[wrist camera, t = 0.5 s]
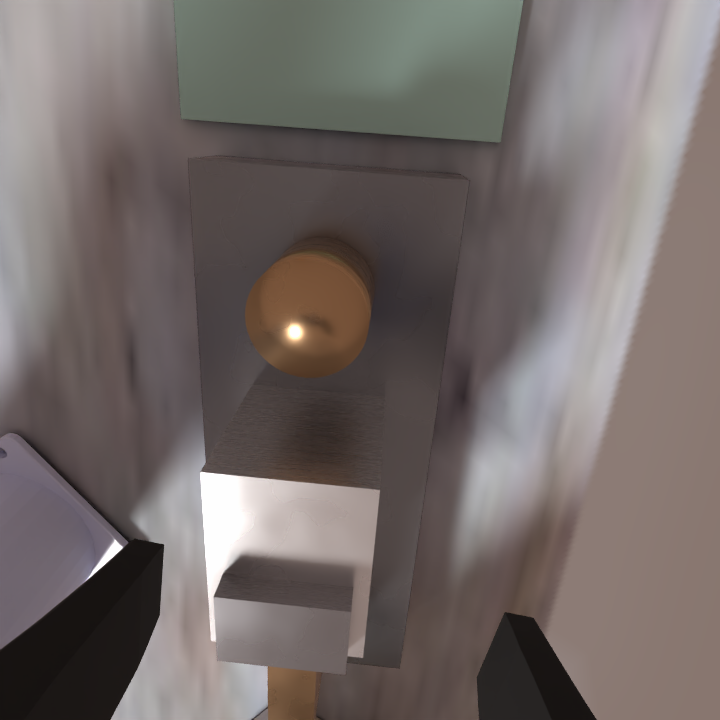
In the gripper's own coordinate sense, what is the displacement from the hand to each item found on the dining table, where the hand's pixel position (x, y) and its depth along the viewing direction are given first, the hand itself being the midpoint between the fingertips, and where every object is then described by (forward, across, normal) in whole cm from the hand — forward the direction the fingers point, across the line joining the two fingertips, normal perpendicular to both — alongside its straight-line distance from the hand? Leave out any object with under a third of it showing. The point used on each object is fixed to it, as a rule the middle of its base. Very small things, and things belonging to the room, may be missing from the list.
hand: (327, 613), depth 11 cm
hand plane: (+10, +1, +2) cm, 10 cm away
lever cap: (+8, +1, +2) cm, 8 cm away
